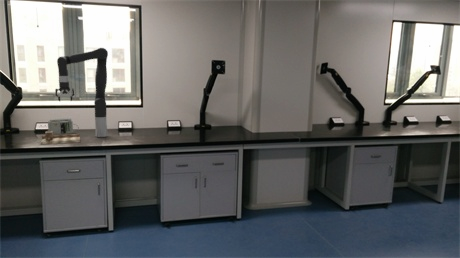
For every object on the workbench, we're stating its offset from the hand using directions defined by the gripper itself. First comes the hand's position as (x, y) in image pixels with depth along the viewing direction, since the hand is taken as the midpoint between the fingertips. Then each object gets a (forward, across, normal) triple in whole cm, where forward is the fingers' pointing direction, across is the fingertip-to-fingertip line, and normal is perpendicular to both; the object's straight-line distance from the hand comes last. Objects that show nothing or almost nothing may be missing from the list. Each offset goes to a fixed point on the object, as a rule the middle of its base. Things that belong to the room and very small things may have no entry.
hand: (65, 101), depth 302 cm
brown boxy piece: (+29, +14, +15) cm, 35 cm away
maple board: (+31, +5, +15) cm, 35 cm away
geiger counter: (+31, +3, -17) cm, 36 cm away
